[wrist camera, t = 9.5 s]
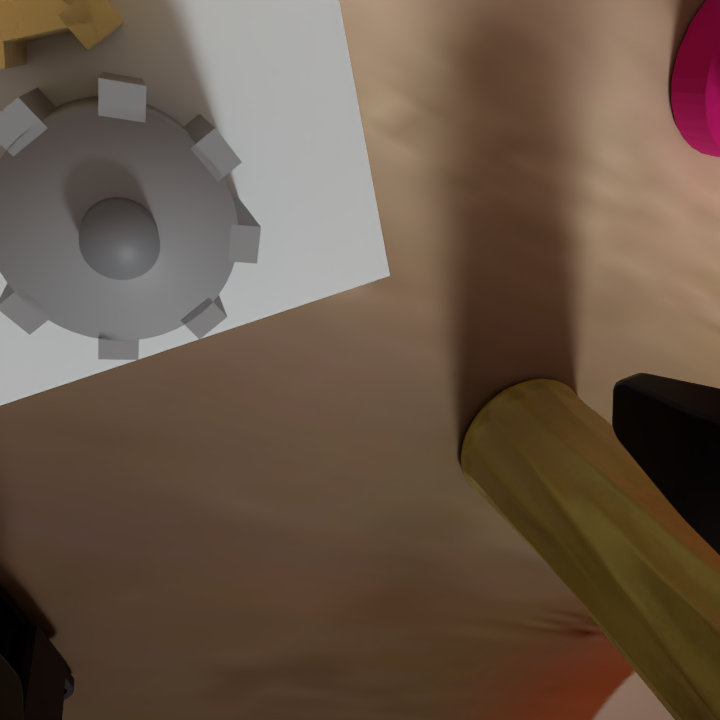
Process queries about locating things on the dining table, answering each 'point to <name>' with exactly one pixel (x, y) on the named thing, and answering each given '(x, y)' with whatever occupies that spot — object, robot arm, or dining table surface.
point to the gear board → (266, 131)
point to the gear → (52, 24)
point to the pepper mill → (699, 81)
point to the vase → (604, 536)
